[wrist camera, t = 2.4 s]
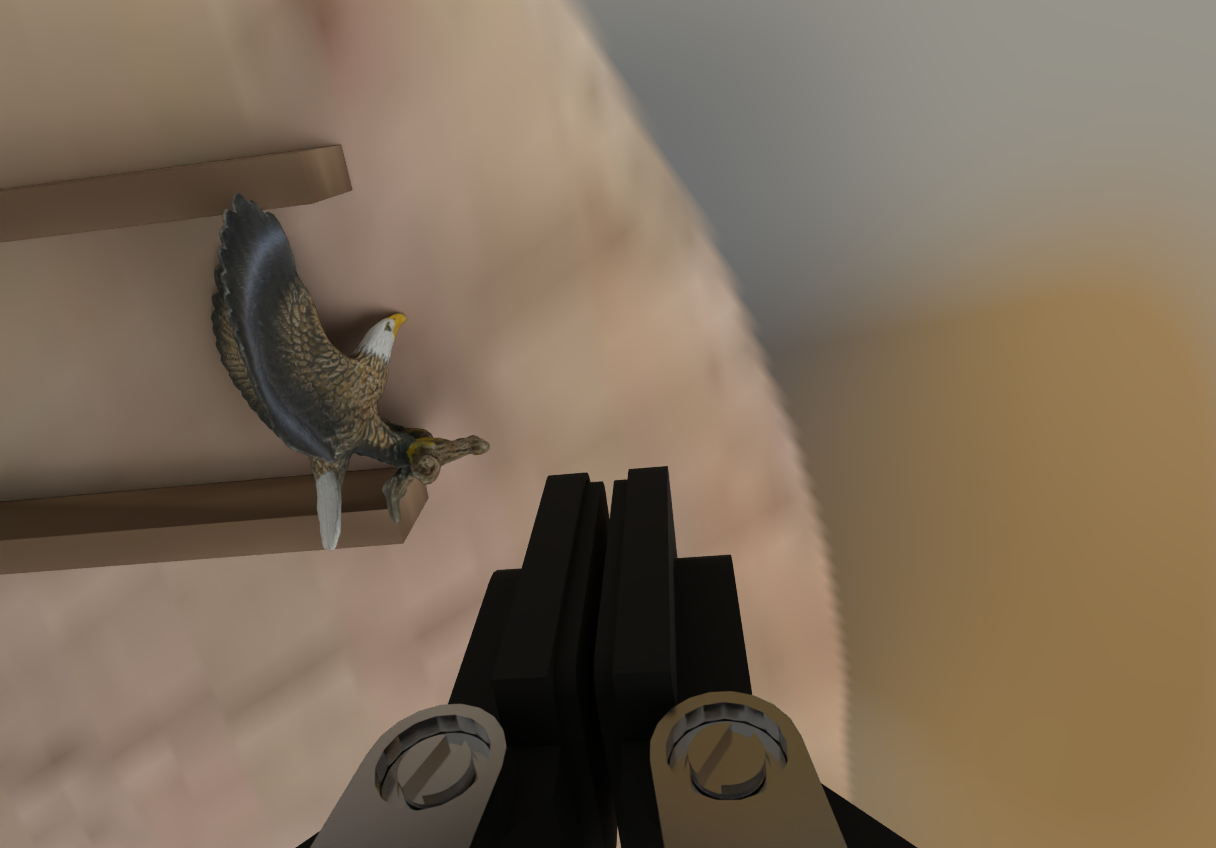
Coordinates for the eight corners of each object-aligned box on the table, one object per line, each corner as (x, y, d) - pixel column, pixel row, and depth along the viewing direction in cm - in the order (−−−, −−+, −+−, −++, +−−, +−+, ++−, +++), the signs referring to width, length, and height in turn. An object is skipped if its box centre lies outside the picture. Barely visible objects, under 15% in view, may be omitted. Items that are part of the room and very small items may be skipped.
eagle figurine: (544, 349, 23) (295, 130, 20) (445, 544, 19) (106, 315, 16) (425, 416, 29) (211, 254, 25) (328, 580, 25) (55, 416, 21)
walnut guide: (428, 497, 27) (393, 561, 23) (-63, 538, 29) (-165, 602, 25) (341, 144, 22) (280, 155, 19) (-239, 220, 24) (-397, 244, 21)
